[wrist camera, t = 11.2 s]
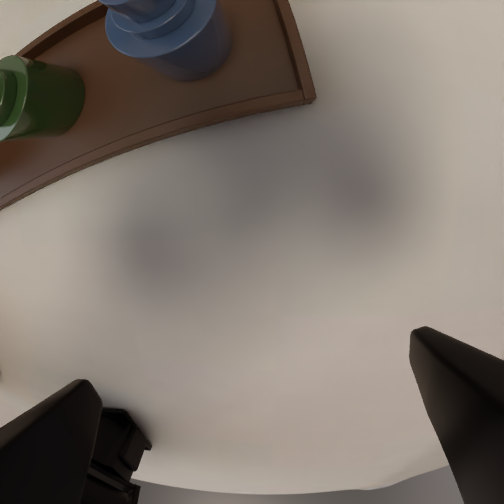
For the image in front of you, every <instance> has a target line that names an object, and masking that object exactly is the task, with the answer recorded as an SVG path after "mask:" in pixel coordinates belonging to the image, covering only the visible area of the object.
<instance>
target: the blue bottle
mask: <svg viewBox="0 0 504 504" xmlns="http://www.w3.org/2000/svg"><path fill="white" fill-rule="evenodd" d="M98 1H99V2H101V3H102V4H104V5H105V6H107V7H108V11H107V14H106V19H105V30H106V35H107V37H108V40H109V42H110V43H111V45H112V46H113V47H114V48H115V49H116V50H117V51H119V52H120V53H122V54H124V55H126V56H128V57H130V58H132V59H134V60H135V61H137V62H139V63H141V64H143V65H145V66H147V67H148V68H150V69H152V70H154V71H156V72H157V73H159V74H161V75H163V76H164V77H166V78H168V79H171V80H175V81H181V82H188V81H194V80H199V79H201V78H204V77H206V76H208V75H210V74H212V73H213V72H215V71H216V70H217V69H218V68H219V67H220V66H221V65H222V64H223V63H224V62H225V61H226V59H227V58H228V56H229V54H230V52H231V49H232V45H233V34H232V30H231V27H230V25H229V22H228V19H227V17H226V14H225V11H224V9H223V6H222V4H221V1H220V0H98Z"/></svg>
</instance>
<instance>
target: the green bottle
mask: <svg viewBox="0 0 504 504" xmlns="http://www.w3.org/2000/svg"><path fill="white" fill-rule="evenodd" d="M84 98H85V88H84V83H83V80H82V78H81V76H80V75H79V74H78V72H76V71H75V70H73V69H71V68H68V67H64V66H60V65H56V64H52V63H48V62H44V61H39V60H35V59H30V58H25V57H20V56H15V55H11V56H7V57H5V58H3V59H1V60H0V143H1V142H9V141H18V140H27V139H38V138H51V137H58V136H61V135H63V134H64V133H66V132H67V131H68V130H69V129H70V128H71V127H72V126H73V125H74V124H75V122H76V121H77V119H78V117H79V116H80V113H81V111H82V108H83V104H84Z"/></svg>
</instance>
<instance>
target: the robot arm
mask: <svg viewBox="0 0 504 504" xmlns="http://www.w3.org/2000/svg"><path fill="white" fill-rule="evenodd" d="M409 359H410V364H411V367H412V370H413V373H414V375H415V378H416V381H417V384H418V387H419V390H420V393H421V396H422V399H423V402H424V405H425V408H426V411H427V414H428V416H429V418H430V421H431V423H432V425H433V427H434V429H435V432H436V434H437V436H438V438H439V441H440V443H441V445H442V448H443V450H444V452H445V455H446V457H447V460H448V462H449V465H450V467H451V470H452V472H453V475H454V477H455V480H456V482H457V485H458V488H459V490H460V493H461V496H462V498H463V501H464V504H504V360H502V359H499V358H497V357H495V356H493V355H490V354H488V353H486V352H484V351H481V350H479V349H477V348H475V347H473V346H470V345H468V344H466V343H464V342H461V341H459V340H457V339H455V338H452V337H450V336H448V335H446V334H443V333H441V332H439V331H437V330H434V329H432V328H430V327H427V326H424V327H421V328H418V329H414V330H413V331H412V332H411V335H410V351H409ZM151 448H152V446H151V444H150V443H149V442H148V440H147V439H146V438H145V437H144V435H143V434H142V433H141V431H140V430H139V428H138V427H137V426H136V424H135V423H134V422H133V420H132V419H131V417H130V416H129V414H128V413H127V412H126V411H124V410H120V409H106V408H102V400H101V398H100V396H99V395H98V393H97V392H96V390H95V389H94V387H93V386H92V384H91V383H90V382H89V381H88V380H86V379H77V380H75V381H73V382H71V383H70V384H68V385H67V386H65V387H64V388H62V389H61V390H59V391H58V392H56V393H54V394H53V395H51V396H50V397H48V398H47V399H45V400H44V401H42V402H40V403H39V404H37V405H36V406H34V407H33V408H31V409H29V410H28V411H26V412H25V413H23V414H22V415H20V416H18V417H17V418H15V419H14V420H12V421H11V422H9V423H7V424H6V425H4V426H3V427H1V428H0V504H137V503H138V497H139V491H140V486H138V485H136V484H132V483H131V482H129V481H130V479H131V476H132V473H133V471H136V470H137V469H138V466H139V463H140V460H141V458H142V455H143V452H144V450H151Z"/></svg>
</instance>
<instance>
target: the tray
mask: <svg viewBox="0 0 504 504" xmlns="http://www.w3.org/2000/svg"><path fill="white" fill-rule="evenodd" d="M220 1H221V4H222V6H223V9H224V11H225V14H226V17H227V19H228V22H229V25H230V27H231V30H232V34H233V45H232V49H231V52H230V54H229V56H228V58H227V59H226V61H225V62H224V63H223V64H222V65H221V66H220V67H219V68H218V69H217V70H216V71H215V72H213V73H212V74H210V75H208V76H206V77H204V78H201V79H199V80H194V81H188V82H181V81H175V80H171V79H168V78H166V77H164V76H163V75H161V74H159V73H157V72H156V71H154V70H152V69H150V68H148V67H147V66H145V65H143V64H141V63H139V62H137V61H135V60H134V59H132V58H130V57H128V56H126V55H124V54H122V53H120V52H119V51H117V50H116V49H115V48H114V47H113V46H112V45H111V43H110V42H109V40H108V37H107V35H106V30H105V19H106V14H107V11H108V7H107V6H105V5H104V4H102V3H101V2H99V1H96V2H94V3H92V4H90V5H88V6H86V7H85V8H83V9H81V10H79V11H78V12H76V13H74V14H73V15H71V16H69V17H68V18H66V19H65V20H63V21H61V22H60V23H58V24H57V25H55V26H54V27H52V28H51V29H49V30H48V31H46V32H45V33H43V34H42V35H41V36H39V37H38V38H36V39H35V40H34V41H32V42H31V43H30V44H28V45H27V46H26V47H24V48H23V49H22V50H21V51H19V52H18V53H17V54H16V55H15V56H20V57H25V58H30V59H35V60H39V61H44V62H48V63H52V64H56V65H60V66H64V67H68V68H71V69H73V70H75V71H76V72H78V74H79V75H80V76H81V78H82V80H83V83H84V88H85V98H84V104H83V108H82V111H81V113H80V116H79V117H78V119H77V121H76V122H75V124H74V125H73V126H72V127H71V128H70V129H69V130H68V131H67V132H66V133H64V134H63V135H61V136H58V137H51V138H38V139H27V140H18V141H9V142H1V143H0V210H2V209H3V208H5V207H7V206H9V205H11V204H12V203H14V202H16V201H18V200H20V199H22V198H24V197H26V196H28V195H29V194H31V193H33V192H35V191H37V190H39V189H41V188H43V187H45V186H47V185H50V184H52V183H54V182H56V181H58V180H60V179H62V178H64V177H67V176H69V175H71V174H73V173H76V172H78V171H80V170H83V169H85V168H87V167H90V166H92V165H94V164H97V163H99V162H102V161H104V160H107V159H109V158H112V157H114V156H117V155H120V154H122V153H125V152H128V151H130V150H133V149H136V148H139V147H142V146H144V145H147V144H150V143H153V142H156V141H159V140H162V139H165V138H169V137H172V136H175V135H178V134H181V133H185V132H188V131H192V130H195V129H199V128H202V127H206V126H209V125H213V124H217V123H221V122H225V121H229V120H233V119H237V118H241V117H245V116H250V115H254V114H259V113H263V112H268V111H273V110H278V109H283V108H289V107H294V106H300V105H306V104H311V103H312V102H313V101H314V100H315V99H316V98H317V97H316V93H315V89H314V85H313V81H312V77H311V73H310V70H309V66H308V62H307V59H306V55H305V52H304V48H303V45H302V42H301V38H300V35H299V32H298V29H297V25H296V22H295V19H294V16H293V13H292V10H291V7H290V4H289V1H288V0H220Z"/></svg>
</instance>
